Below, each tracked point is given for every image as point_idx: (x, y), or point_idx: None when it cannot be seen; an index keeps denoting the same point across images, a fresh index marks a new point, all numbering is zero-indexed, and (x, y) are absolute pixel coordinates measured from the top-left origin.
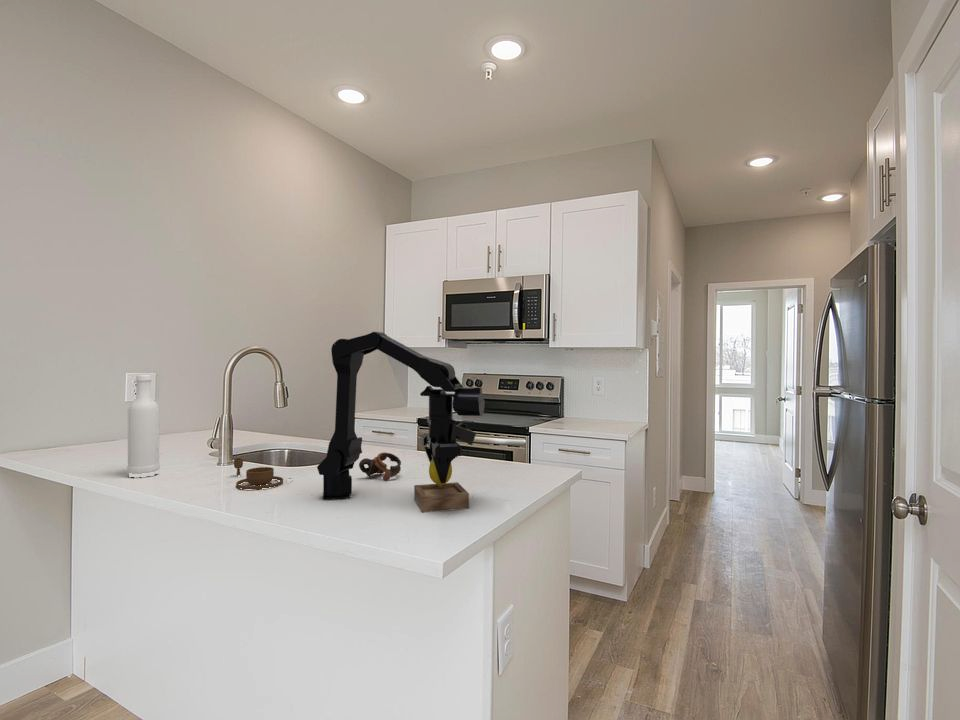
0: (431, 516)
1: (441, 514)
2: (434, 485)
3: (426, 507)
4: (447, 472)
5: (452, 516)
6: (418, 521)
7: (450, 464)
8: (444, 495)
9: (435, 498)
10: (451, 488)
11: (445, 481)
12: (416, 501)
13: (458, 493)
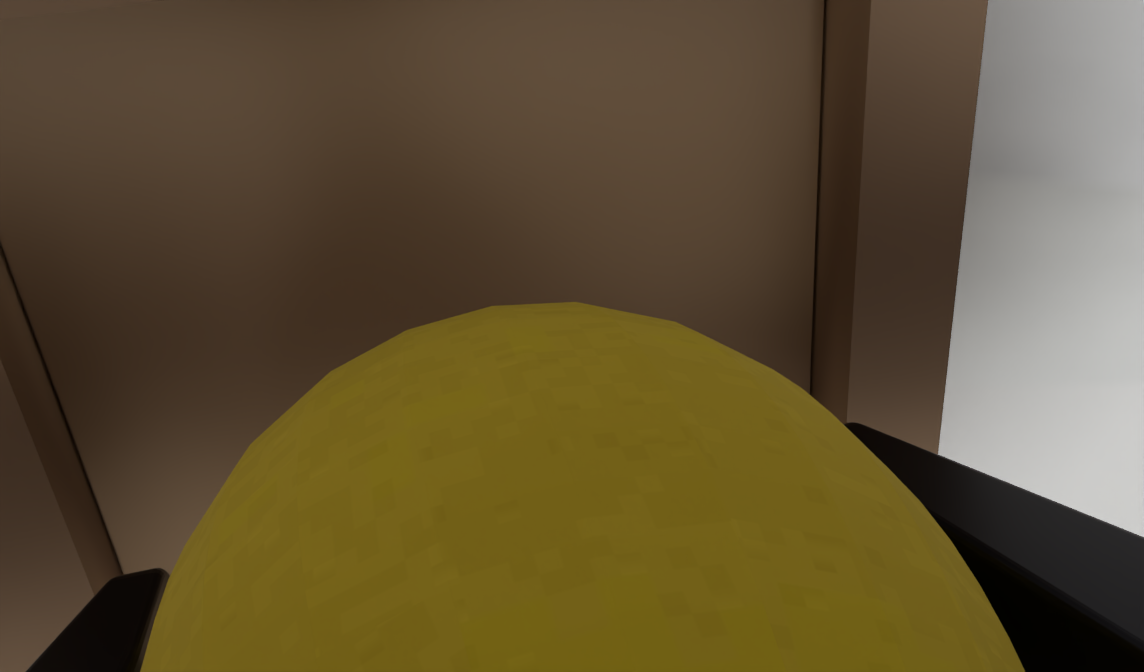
0: (999, 392)
1: (972, 268)
2: (72, 526)
3: None
4: (1130, 545)
5: (1114, 121)
6: (1102, 517)
7: (913, 617)
8: (945, 324)
9: None
10: (53, 93)
11: (867, 428)
12: None
13: (942, 29)
